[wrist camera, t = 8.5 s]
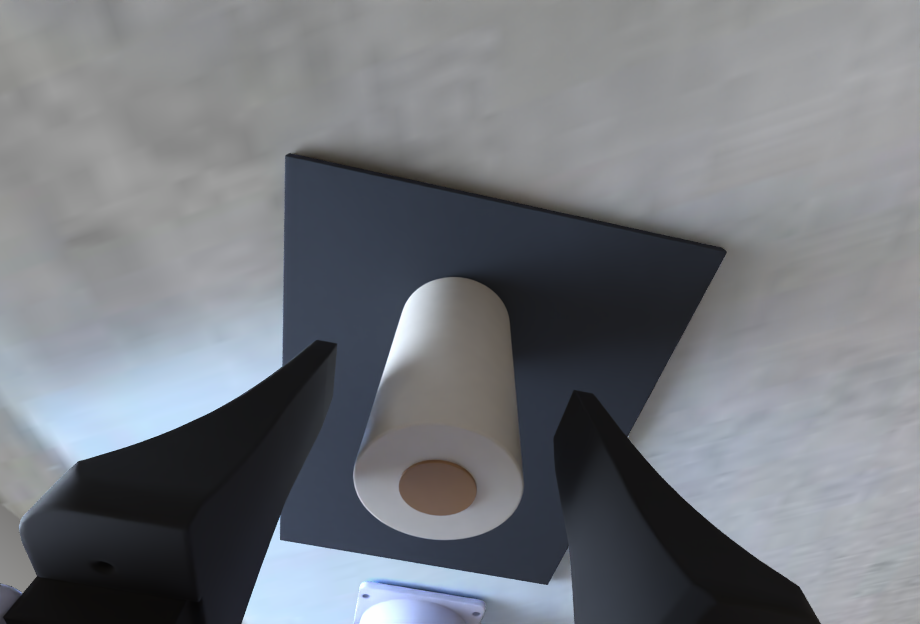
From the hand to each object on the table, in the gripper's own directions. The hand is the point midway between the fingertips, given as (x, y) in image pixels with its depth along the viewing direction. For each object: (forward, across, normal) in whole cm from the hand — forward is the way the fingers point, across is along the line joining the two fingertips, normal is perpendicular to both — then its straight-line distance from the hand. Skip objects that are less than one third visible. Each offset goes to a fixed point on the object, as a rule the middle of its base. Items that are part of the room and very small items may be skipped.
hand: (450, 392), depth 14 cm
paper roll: (+1, 0, +3) cm, 3 cm away
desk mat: (+6, -1, +6) cm, 9 cm away
